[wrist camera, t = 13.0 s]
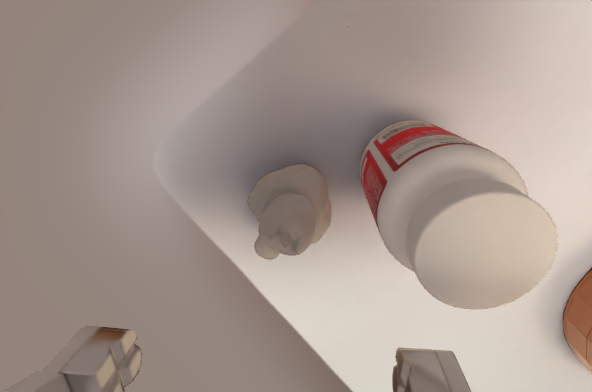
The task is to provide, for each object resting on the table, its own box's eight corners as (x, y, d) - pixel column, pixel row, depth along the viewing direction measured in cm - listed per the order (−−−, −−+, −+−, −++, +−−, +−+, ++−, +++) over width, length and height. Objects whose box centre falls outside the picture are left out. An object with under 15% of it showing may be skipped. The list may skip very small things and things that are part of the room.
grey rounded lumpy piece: (349, 180, 21) (362, 238, 14) (300, 249, 24) (290, 329, 17) (281, 139, 21) (258, 178, 13) (238, 214, 23) (198, 282, 16)
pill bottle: (409, 222, 22) (482, 351, 12) (340, 176, 21) (356, 272, 11) (474, 153, 20) (630, 238, 10) (400, 98, 19) (488, 129, 9)
